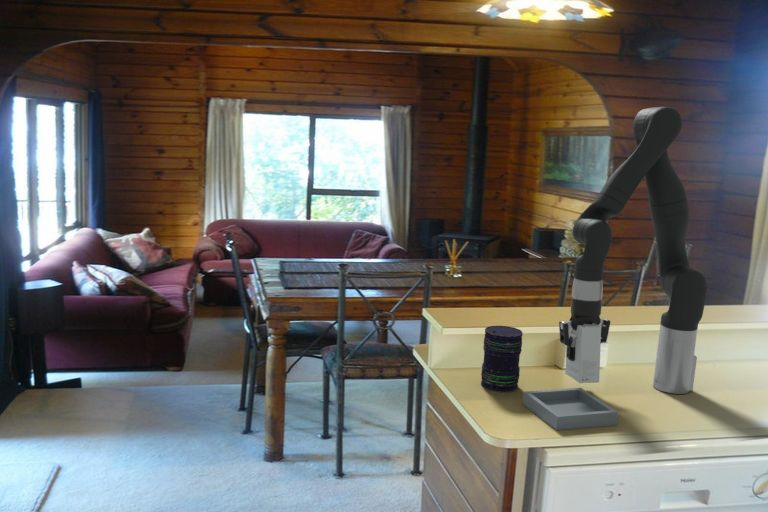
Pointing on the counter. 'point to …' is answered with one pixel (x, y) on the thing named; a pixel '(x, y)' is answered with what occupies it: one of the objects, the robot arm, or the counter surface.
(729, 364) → the counter surface
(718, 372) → the counter surface
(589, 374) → the skincare box
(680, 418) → the counter surface
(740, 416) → the counter surface
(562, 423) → the tray
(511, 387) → the dark blue barrel
